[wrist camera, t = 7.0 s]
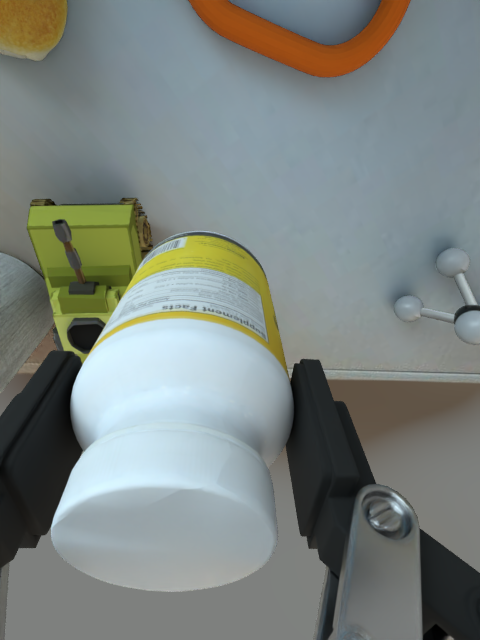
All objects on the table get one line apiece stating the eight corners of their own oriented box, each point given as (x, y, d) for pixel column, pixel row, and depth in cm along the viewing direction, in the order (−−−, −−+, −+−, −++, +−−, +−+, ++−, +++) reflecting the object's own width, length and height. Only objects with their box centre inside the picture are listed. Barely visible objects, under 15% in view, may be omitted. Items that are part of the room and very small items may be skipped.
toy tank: (149, 190, 27) (116, 227, 19) (170, 337, 35) (153, 410, 27) (45, 191, 27) (-35, 229, 19) (90, 339, 35) (48, 413, 27)
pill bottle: (210, 360, 19) (190, 625, 9) (111, 293, 17) (-55, 559, 7) (294, 285, 17) (386, 540, 7) (194, 193, 14) (115, 390, 4)
